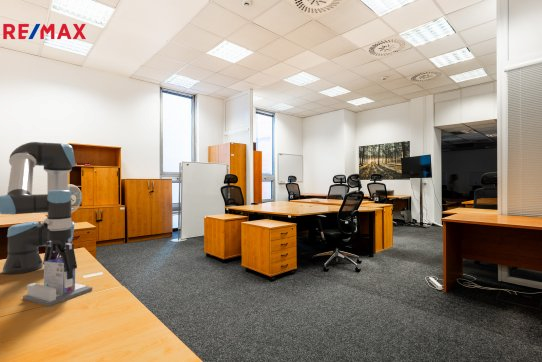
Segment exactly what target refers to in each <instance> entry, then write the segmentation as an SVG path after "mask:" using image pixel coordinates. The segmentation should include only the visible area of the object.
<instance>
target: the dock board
mask: <svg viewBox="0 0 542 362" xmlns="http://www.w3.org/2000/svg"><path fill="white" fill-rule="evenodd" d="M43 285H44V284H40V283H39V284H38V283H35V282H33V283H32V282H31V283H29V284H27V294H24V295H22V299H23V300H25V301H28V302H31V303H35V304H39V305H42V306H45V307H51V306H54V305H57V304H60V303H62V302H65V301H67V300H70V299H72V298H76V297H78V296H81V295H84V294H86V293H88V292H92V291H93V287H92V286H88V285H85V284H80V283H76V282H75V289H74V290H72V291H69V292H66V293H64V294H60V293H56V289H55V288H51V287H47V286H43Z"/></svg>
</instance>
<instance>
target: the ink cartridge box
mask: <svg viewBox="0 0 542 362" xmlns="http://www.w3.org/2000/svg"><path fill="white" fill-rule="evenodd" d="M43 261H44V260H43ZM64 270H65V263H64V262H63V261H62V258H61V256H60V255H59V254H58V256H57V259H52V260H47V261H44V265H43V284H42V285H43V286H47V287H51V288H55V289H56V293H60V294H64V293H66V292H69V291H72V290H74V289H75V283H76V269H73V286H71V287H68V288H64Z"/></svg>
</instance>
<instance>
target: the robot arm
mask: <svg viewBox="0 0 542 362" xmlns="http://www.w3.org/2000/svg"><path fill="white" fill-rule="evenodd" d="M8 163H9V164H10V165H9V166H10V173H9V181H8V187H7V194H4V195H3V194H2V195H0V215H22V214H23V215H24V214H25V215H26V214H42V213H47V217H46V218H45V219H43V223H39V221H28V222H23V223H18V224H14V225H11V226H9V227H8V229H7V235H6V238H7V257H6V260H5V261H4V264H3V267H2V273H3V274H4V273H6V275H12V274H13V275H15V274H17V275H18V274H23V273H29V272H33V271H36V270H39V269H41V268H43V267H44V261H47V260H52V259H57V257H58V255H60V257H61V258H62V261H63V262H64V263H65V270H64V288H68V287H71V286H73V269H75V270H76V269H77V268H78V264H77V258H76V253H75V243H74V242H72V241H73V237H74V231H75V221H72V199H73V198H72V192H71V190H69V173H70V172H71V171H72V170H73V167H75V166H76V161H75V153H74V148H73V146H72V145H70V144H68V143H67V144H66V143H61V142H60V143H58V142H57V143H55V142H43V141H41V142H38V141H30V142H27V143H24V144H21V145H19V146H17V148H15V149H14V150H13V151H12V152H11V153H10V156H9V159H8ZM37 166H39V167H41V166H42V167H43V170H44V171H45V172H46V173H47V189H46V190H47V193H45V194H33V179H34V168H36V167H37ZM71 242H72V243H71ZM39 247H45V252H44V256H43V259H42V257H41V255H40V252H39ZM42 266H43V267H42Z"/></svg>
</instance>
